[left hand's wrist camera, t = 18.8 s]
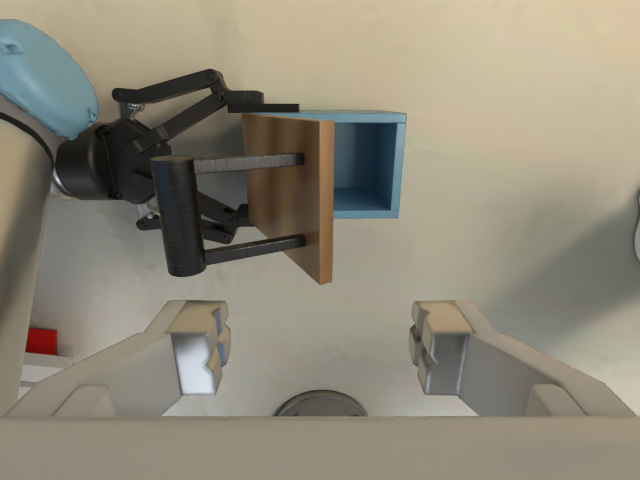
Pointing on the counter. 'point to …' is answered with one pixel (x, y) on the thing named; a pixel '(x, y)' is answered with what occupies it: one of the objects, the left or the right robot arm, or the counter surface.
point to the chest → (364, 160)
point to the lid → (257, 196)
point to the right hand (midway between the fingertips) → (299, 161)
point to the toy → (40, 359)
